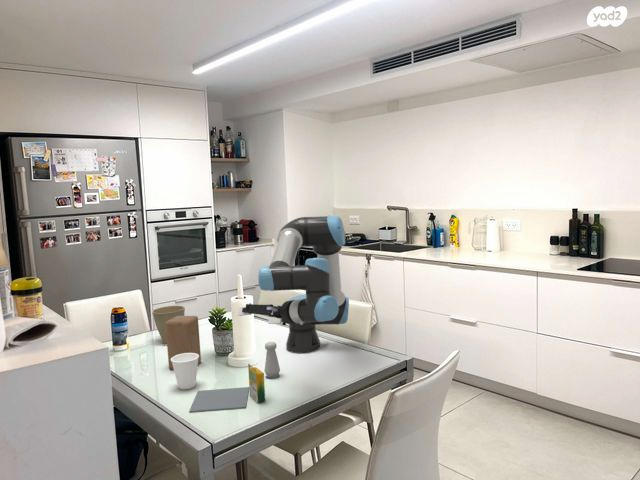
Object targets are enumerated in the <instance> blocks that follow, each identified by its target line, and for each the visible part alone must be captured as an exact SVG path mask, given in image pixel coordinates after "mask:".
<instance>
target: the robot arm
mask: <svg viewBox="0 0 640 480" xmlns="http://www.w3.org/2000/svg"><path fill="white" fill-rule="evenodd" d="M276 242H277V244H276V247H275V250H274V252H273V256H272V258H271V261H270V264H269V265H267V266H262V267H260V268H259V271H258V275H257V276H258V286H259V288H260V290H262V291H266V292H267V291H269V292H270V291H271V292H275V291H297V290H298V291H301V290H302V291H303V290H305V294H300V295H299V294H298V295H296V296H293V297H291V298H290V299H289V300H287V301H285V302H283V303H282V305H277V306H275V305H274V304H272V303H271V304H253V303H251V302H250V303H246V304H245V306H243V307H242V306H241V307H240V306H239V307H238V312H237V316H240V317H241V316H249V315H250V316H251V315H252V314H253V315H263V316H268V320H267V321H268V322H267V324H268V325H273V324H281V325H282V326H286V325H287V324H288V327H289V331H288V336H287V339H286V344H285V347H286V350H287V351H288V352H290V353H295V354H307V353H313V352H315V351H318V350H319V349H320V348H321V341H320V338H319V334H318V332H317V329H316V326H317V325H338V326H339V325H344V324H346V323H347V322H348V318H349V308H350V304H349V303H350V302H349V301H350V298H349V297H348V296H346V295H345V293H344V292H343V291H342V285H341V284H342V283H341V282H342V281H341V271H340V270H341V269H340V268H341V267H340V255H339V253H340V252H341V250H342V247H344V246H345V245H346V235H345V228H344V223H343V221H342V218H341V217H340V216H338V215H326V216H301V217H297V218H294V219H293V220H291V221H288V222H287V223H286V224H285V225H283V226H282V228H281V229H280V230H279V232H278V234H277V238H276ZM300 248H312V250H313V252H314V253H315V254H316V255H317V257H313V258H311V257H310V258H307V259H306V260H305V263H304V265H294V264H295V261H296V257H297V253H298V250H299V249H300Z"/></svg>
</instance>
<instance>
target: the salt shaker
mask: <svg viewBox="0 0 640 480" xmlns="http://www.w3.org/2000/svg"><path fill="white" fill-rule="evenodd" d="M264 349H265V350H266V354H265V355H266V356H265V361H264V363H265V364H264V370H263V371H264V374H265V375H266V377H267V378H269V379H275V378H277V377H278V376H279V374H280V371H281V367H280V364H279V360H278V359H279V358H278V355H277V351H276V349H277V343H276V342H275V341H268V342H266V343H265V345H264Z"/></svg>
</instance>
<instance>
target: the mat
mask: <svg viewBox="0 0 640 480" xmlns="http://www.w3.org/2000/svg"><path fill="white" fill-rule="evenodd" d="M249 394H250V390H249V386H246V387H232V388H218V389H206V390H198V391H197V392H196V395H195V397H194V398H193V401H192V403H191V405H190V408H189V410H188V412H189V413H201V412H212V411H213V412H214V411H216V412H217V411H227V410H240V409H241V410H242V409H247V403H248V400H249V399H248V398H249Z"/></svg>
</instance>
